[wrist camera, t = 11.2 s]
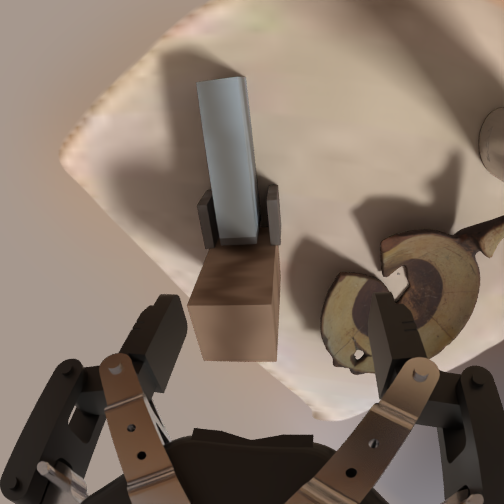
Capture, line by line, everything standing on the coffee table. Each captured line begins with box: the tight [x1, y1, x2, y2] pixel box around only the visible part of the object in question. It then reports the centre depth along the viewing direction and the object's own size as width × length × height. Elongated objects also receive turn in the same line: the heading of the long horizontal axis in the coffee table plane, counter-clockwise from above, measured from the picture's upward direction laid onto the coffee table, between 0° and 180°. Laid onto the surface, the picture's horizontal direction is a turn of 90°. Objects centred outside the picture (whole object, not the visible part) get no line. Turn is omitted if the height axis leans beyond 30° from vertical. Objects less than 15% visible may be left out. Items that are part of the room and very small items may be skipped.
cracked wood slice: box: [321, 216, 504, 375], centre depth 36 cm, size 22×30×8 cm
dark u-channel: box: [187, 185, 281, 362], centre depth 32 cm, size 8×12×14 cm, turn 6°
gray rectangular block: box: [196, 77, 261, 246], centre depth 31 cm, size 4×16×6 cm, turn 6°
